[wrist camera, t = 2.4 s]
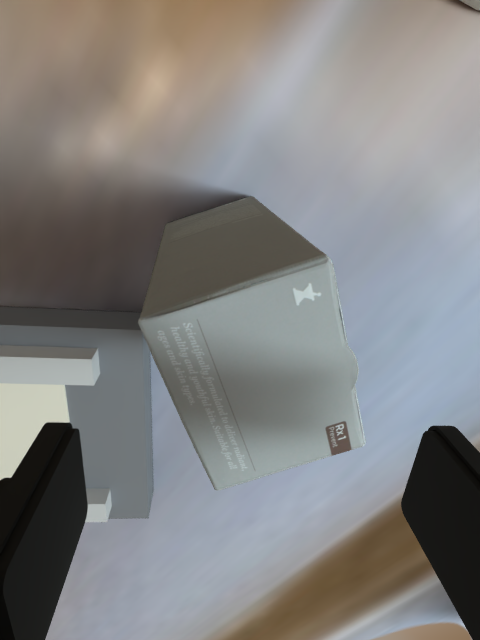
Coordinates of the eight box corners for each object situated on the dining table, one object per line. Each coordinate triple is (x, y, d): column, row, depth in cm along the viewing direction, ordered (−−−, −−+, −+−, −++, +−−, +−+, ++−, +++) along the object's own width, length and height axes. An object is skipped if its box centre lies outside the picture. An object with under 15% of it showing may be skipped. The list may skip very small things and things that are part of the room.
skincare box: (164, 222, 25) (100, 313, 11) (265, 190, 25) (338, 241, 11) (204, 329, 29) (196, 506, 14) (294, 302, 28) (378, 457, 14)
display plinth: (149, 312, 28) (138, 340, 24) (153, 489, 35) (145, 534, 31) (-143, 300, 26) (-210, 328, 22) (-76, 489, 33) (-116, 537, 29)
